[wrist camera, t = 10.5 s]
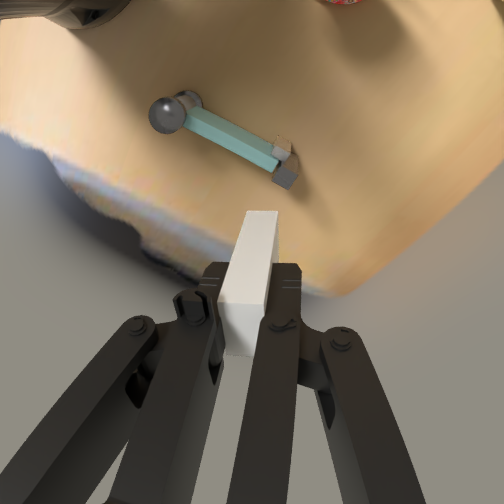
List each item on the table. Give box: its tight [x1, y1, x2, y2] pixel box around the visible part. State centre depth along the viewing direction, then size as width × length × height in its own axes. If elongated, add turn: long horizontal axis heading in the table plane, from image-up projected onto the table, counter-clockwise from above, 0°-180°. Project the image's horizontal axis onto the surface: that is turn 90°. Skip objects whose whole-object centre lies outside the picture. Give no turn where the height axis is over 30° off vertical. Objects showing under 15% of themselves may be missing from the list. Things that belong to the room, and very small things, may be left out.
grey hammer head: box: [149, 91, 203, 134], centre depth 33 cm, size 4×4×7 cm
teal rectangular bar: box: [177, 95, 279, 173], centre depth 35 cm, size 14×3×5 cm, turn 62°
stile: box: [270, 135, 298, 190], centre depth 35 cm, size 3×3×7 cm
